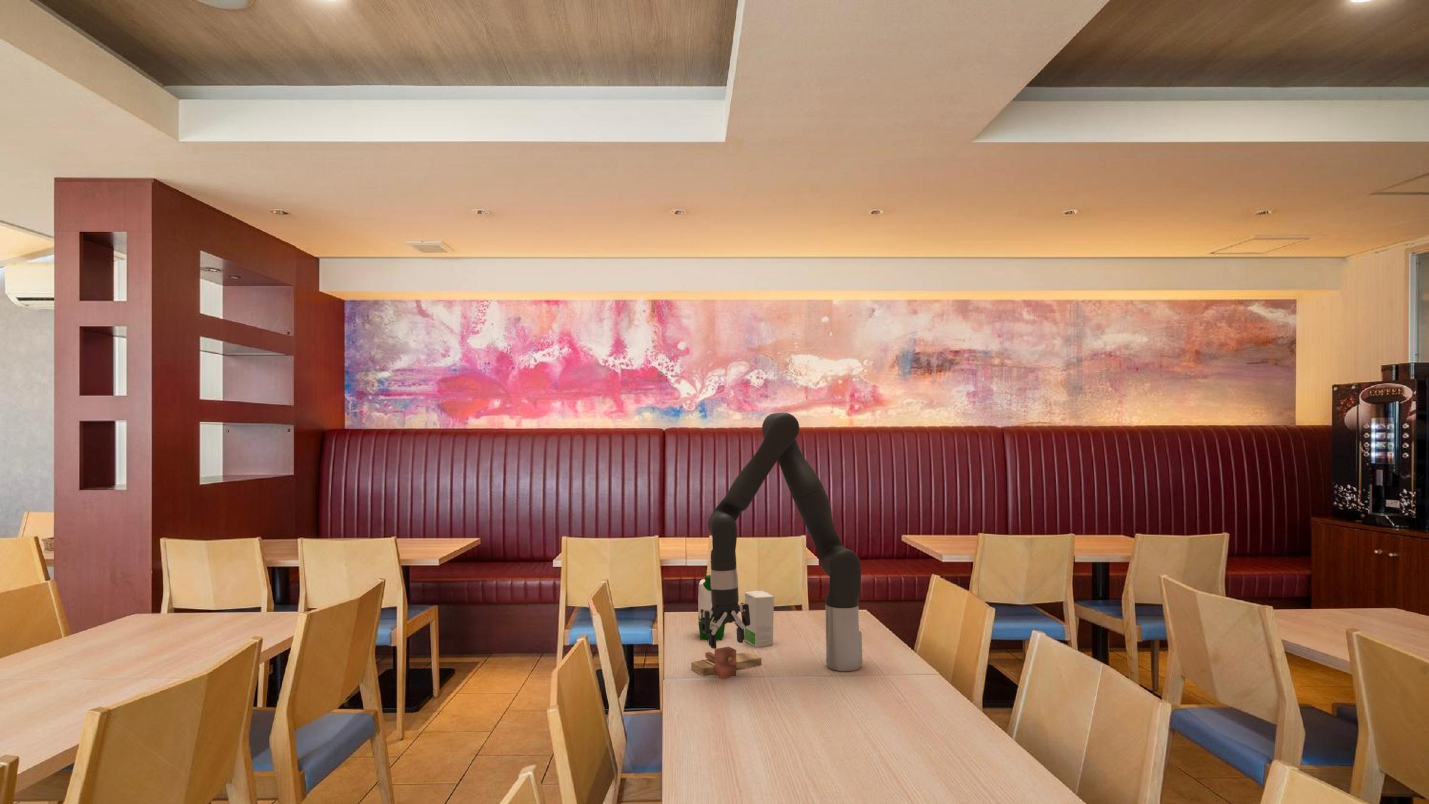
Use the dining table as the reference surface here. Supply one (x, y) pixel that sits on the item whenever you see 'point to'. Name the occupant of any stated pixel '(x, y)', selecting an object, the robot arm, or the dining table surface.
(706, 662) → the board
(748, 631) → the skincare box
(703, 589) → the milk carton
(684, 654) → the dining table surface
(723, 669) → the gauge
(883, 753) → the dining table surface
